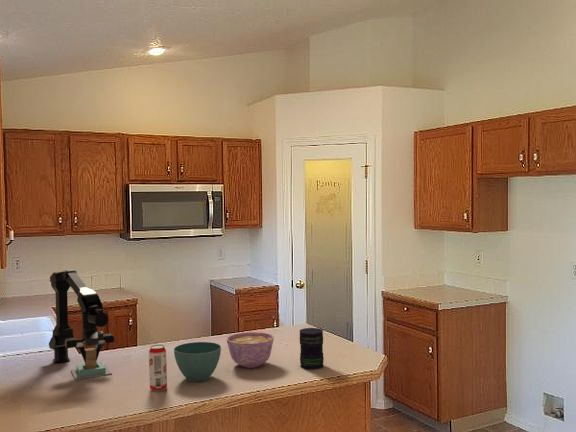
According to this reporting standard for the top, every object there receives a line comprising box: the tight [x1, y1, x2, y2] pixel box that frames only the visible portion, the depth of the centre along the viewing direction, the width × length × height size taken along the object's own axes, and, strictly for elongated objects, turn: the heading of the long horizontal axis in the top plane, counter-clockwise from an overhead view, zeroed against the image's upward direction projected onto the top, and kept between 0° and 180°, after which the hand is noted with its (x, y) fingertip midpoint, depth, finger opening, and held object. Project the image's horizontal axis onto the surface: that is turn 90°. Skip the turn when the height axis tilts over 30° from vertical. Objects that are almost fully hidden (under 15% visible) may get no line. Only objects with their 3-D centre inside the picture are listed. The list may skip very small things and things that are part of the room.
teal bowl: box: [173, 341, 222, 383], centre depth 226 cm, size 18×18×12 cm
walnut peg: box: [84, 347, 98, 369], centre depth 236 cm, size 4×4×8 cm
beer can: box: [148, 344, 168, 393], centre depth 214 cm, size 6×6×16 cm
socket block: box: [70, 361, 112, 381], centre depth 237 cm, size 14×14×2 cm
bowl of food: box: [226, 331, 275, 369], centre depth 243 cm, size 20×20×12 cm
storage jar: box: [299, 327, 325, 371], centre depth 239 cm, size 10×10×15 cm
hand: (90, 361), depth 237 cm, fingers closed on walnut peg, 4 cm apart
